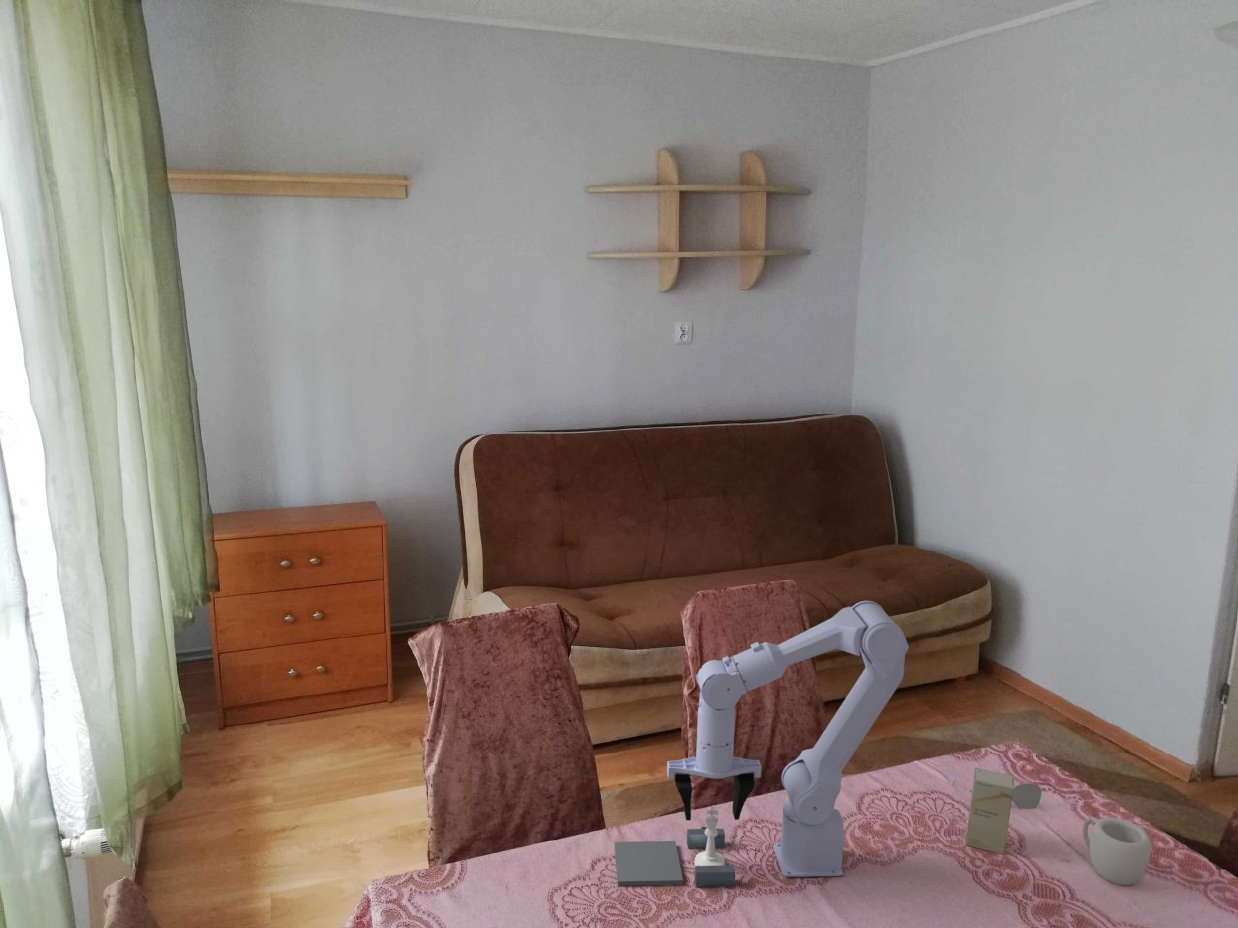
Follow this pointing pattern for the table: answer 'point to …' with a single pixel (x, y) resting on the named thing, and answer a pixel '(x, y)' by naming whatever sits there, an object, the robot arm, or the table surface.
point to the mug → (1118, 849)
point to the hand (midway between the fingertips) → (711, 816)
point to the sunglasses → (1024, 795)
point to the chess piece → (710, 844)
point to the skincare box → (989, 810)
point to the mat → (647, 863)
